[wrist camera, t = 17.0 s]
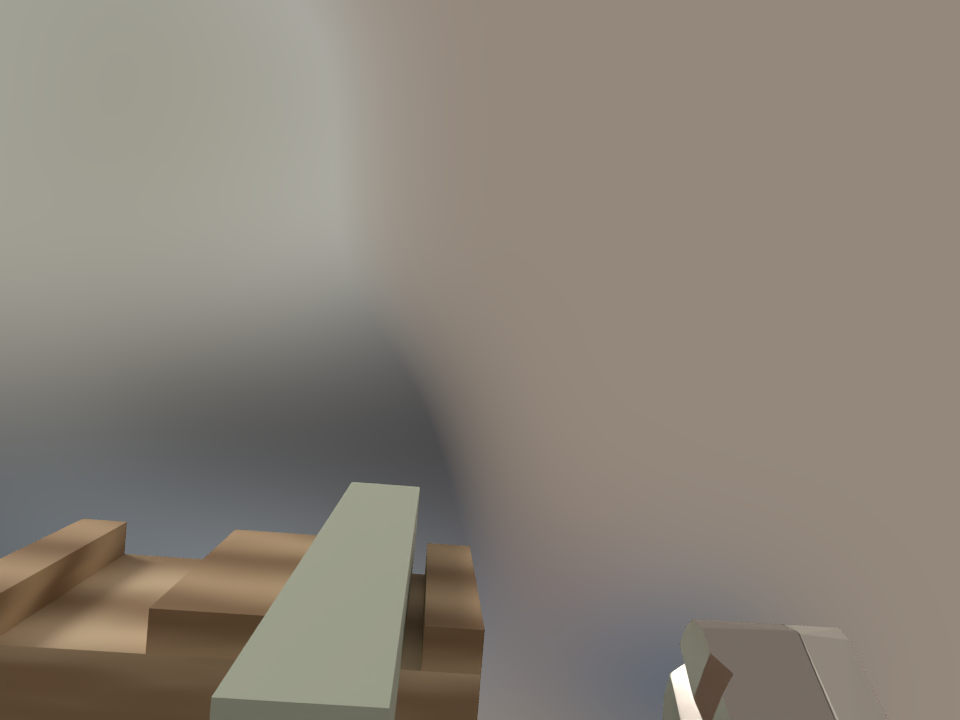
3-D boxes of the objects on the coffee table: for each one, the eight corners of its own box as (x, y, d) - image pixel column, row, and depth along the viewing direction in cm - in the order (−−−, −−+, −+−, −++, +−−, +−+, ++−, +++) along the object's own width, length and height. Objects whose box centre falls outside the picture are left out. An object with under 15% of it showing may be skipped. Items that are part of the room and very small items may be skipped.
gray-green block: (374, 882, 17) (389, 708, 17) (196, 873, 17) (211, 697, 17) (414, 554, 44) (419, 487, 44) (346, 549, 44) (351, 482, 44)
